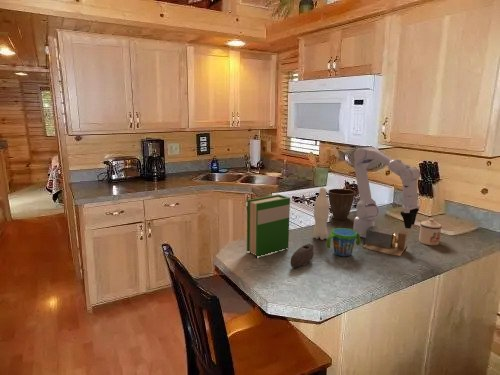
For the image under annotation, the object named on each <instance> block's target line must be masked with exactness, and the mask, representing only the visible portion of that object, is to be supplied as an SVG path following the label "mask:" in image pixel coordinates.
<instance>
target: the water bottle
mask: <svg viewBox="0 0 500 375" xmlns="http://www.w3.org/2000/svg"><path fill="white" fill-rule="evenodd" d="M313 205H314V207H313V208H314V210H313V217H314V229H313V231H312V235H313V237H314V239H315V238H316V239H315V240H318V239H320V241H321V240H322V241H323V240H326V239H327V238H328V235H329V231H328V227H327V223H328V220H329V218H330V216H329V214H330V202H329V198H327V188H326V187H320V188H319V191H318V196H317V198H316V200H315V202H314V204H313Z"/></svg>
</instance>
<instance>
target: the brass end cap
mask: <svg viewBox="0 0 500 375" xmlns="http://www.w3.org/2000/svg"><path fill="white" fill-rule="evenodd" d="M408 234H409V233H408V231H404V230H400V231H399V232H398V233H396V232H395V233H394V235H393V236H392V241H391V244H392V247H394V248H395V247H396V244H397V248H399V249H405V250H406V248H407V247H406V245H407V241H408Z"/></svg>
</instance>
